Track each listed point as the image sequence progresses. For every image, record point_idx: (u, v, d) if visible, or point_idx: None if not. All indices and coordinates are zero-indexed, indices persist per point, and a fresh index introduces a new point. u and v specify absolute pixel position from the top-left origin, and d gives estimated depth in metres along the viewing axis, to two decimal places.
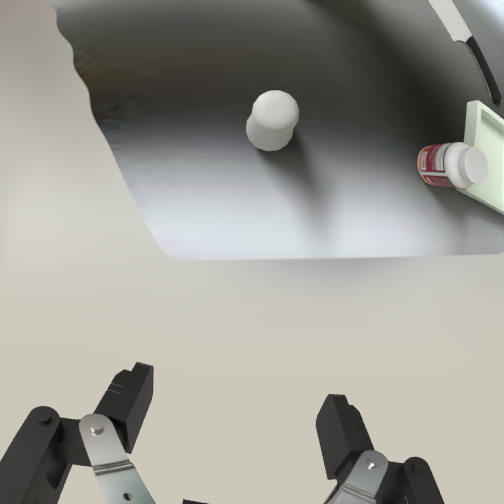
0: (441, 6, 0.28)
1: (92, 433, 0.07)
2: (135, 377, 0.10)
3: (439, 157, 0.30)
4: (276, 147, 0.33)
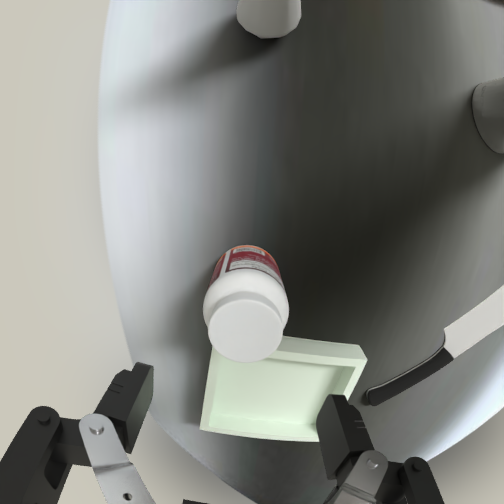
0: (484, 314, 0.30)
1: (92, 433, 0.07)
2: (135, 377, 0.10)
3: (253, 264, 0.21)
4: (239, 10, 0.18)
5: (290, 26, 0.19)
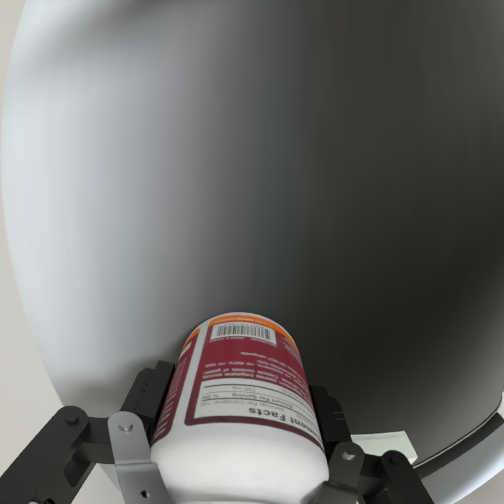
0: None
1: (122, 431, 0.07)
2: (159, 375, 0.11)
3: (253, 399, 0.08)
4: None
5: None
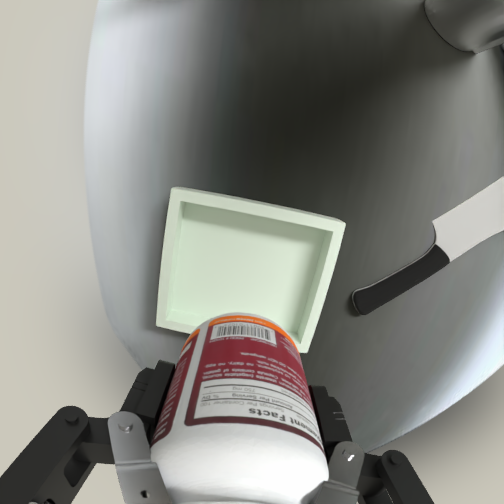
0: (476, 212, 0.28)
1: (122, 431, 0.07)
2: (159, 375, 0.11)
3: (253, 399, 0.08)
4: None
5: None
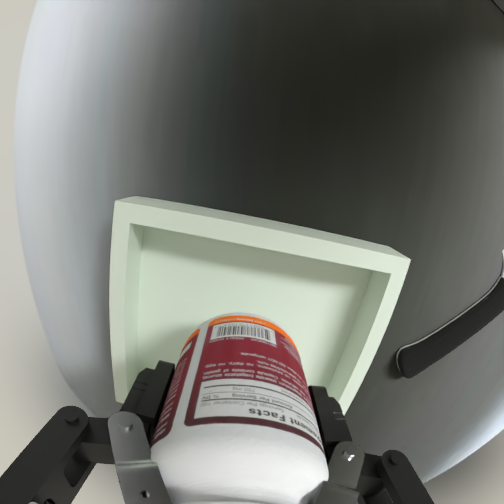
0: None
1: (122, 431, 0.07)
2: (159, 375, 0.11)
3: (253, 398, 0.08)
4: None
5: None
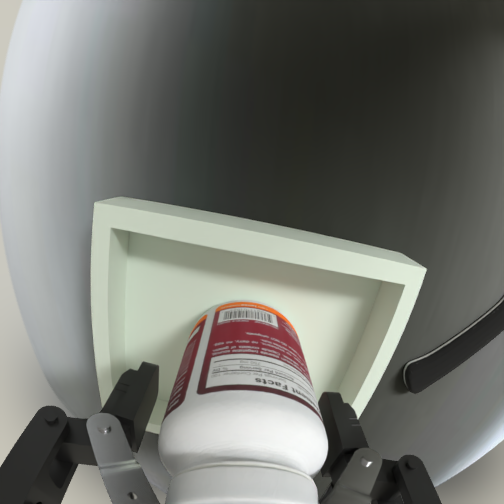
0: None
1: (100, 432, 0.07)
2: (141, 376, 0.10)
3: (258, 370, 0.09)
4: None
5: None
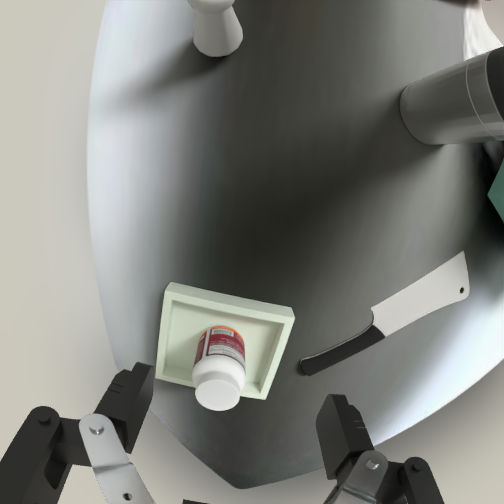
0: (416, 295, 0.38)
1: (92, 433, 0.07)
2: (135, 377, 0.10)
3: (224, 349, 0.31)
4: (194, 36, 0.25)
5: (232, 47, 0.27)
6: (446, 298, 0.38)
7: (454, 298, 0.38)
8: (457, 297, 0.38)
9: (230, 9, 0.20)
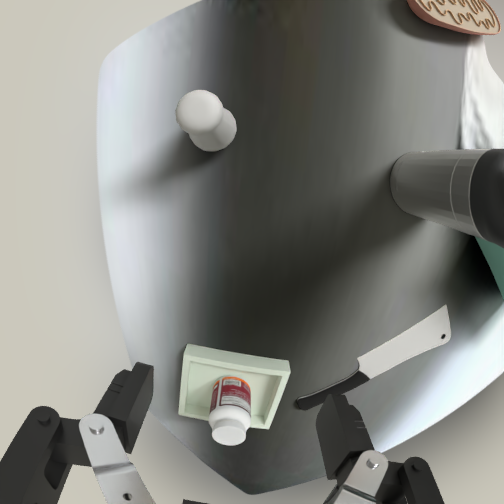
0: (398, 345, 0.44)
1: (92, 433, 0.07)
2: (135, 377, 0.10)
3: (233, 400, 0.38)
4: (189, 133, 0.32)
5: (226, 143, 0.33)
6: (427, 344, 0.43)
7: (435, 343, 0.43)
8: (438, 342, 0.43)
9: None
